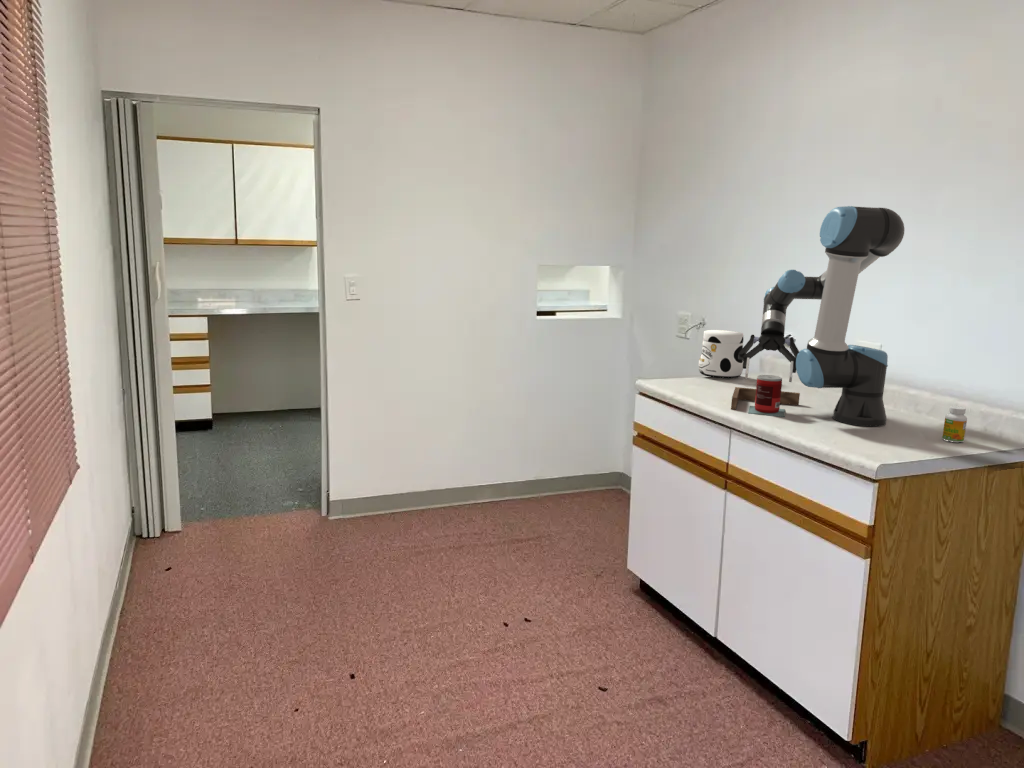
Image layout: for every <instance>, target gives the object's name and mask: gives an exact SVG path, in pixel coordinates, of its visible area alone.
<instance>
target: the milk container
mask: <svg viewBox="0 0 1024 768" xmlns="http://www.w3.org/2000/svg"><path fill="white" fill-rule="evenodd" d="M701 347H702V348H701V355H700V357H699V359H698V372H699V373H700V374H701V375H703V376H705V377H708V378H714V379H723V380H725V379H726V380H727V379H735V378H739V377H741V376H742V374H743V371H744V369H743V360H739V359H738V354H739V352H740V351H741V350H742V349H743V347H744V333H743V332H742V331H741V332H740V331H734V330H727V329H726V330H722V329H708V330H707V329H706V330H704V331H703V334H702V346H701Z"/></svg>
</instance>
